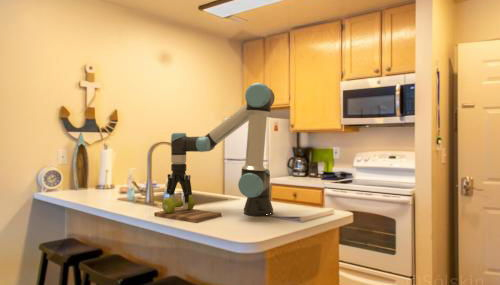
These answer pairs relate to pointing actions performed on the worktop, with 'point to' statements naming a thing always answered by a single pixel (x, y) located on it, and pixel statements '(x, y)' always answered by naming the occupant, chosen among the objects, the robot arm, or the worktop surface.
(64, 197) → the worktop surface
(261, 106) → the robot arm
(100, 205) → the worktop surface
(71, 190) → the worktop surface
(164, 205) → the dumbbell
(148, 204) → the worktop surface
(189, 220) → the board
